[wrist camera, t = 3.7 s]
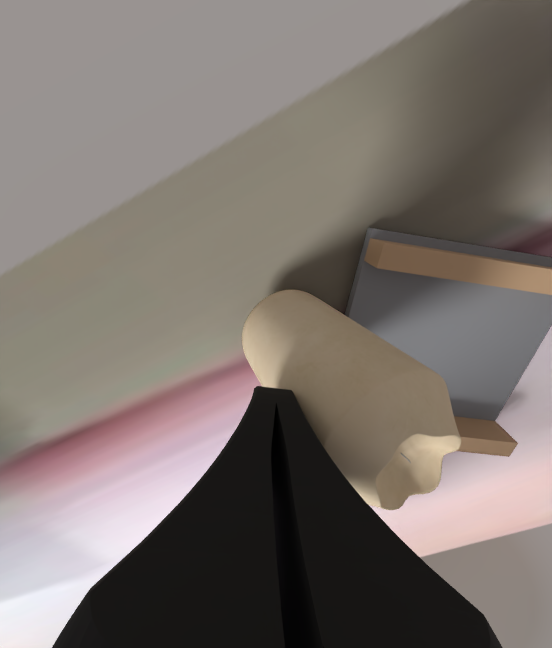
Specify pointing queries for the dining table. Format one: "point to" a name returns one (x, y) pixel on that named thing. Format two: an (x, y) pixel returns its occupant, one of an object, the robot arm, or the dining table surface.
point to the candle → (355, 395)
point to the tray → (457, 319)
